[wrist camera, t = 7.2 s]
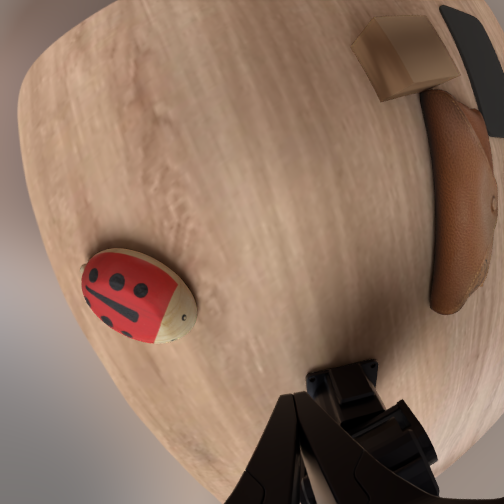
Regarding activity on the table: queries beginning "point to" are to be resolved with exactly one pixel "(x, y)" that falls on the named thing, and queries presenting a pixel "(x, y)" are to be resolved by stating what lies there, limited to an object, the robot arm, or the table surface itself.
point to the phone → (479, 66)
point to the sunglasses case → (459, 199)
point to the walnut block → (403, 56)
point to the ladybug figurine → (138, 296)
